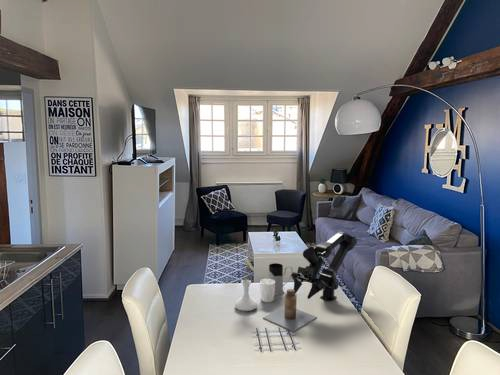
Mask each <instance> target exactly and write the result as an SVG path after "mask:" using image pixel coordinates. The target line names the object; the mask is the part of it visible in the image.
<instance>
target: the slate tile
mask: <svg viewBox="0 0 500 375" xmlns="http://www.w3.org/2000/svg"><path fill="white" fill-rule="evenodd" d="M284 316H285V305H283V306H281V307H280V308H278V309H277V310H275V311H273V312H271V313H268V314H267V315H265V316H263V317H262V319H263V320H265V321H268V322H270V323H272V324H274V325H277V326H278V327H281V328H284V329H285V330H287V331H289V332H292V333H296V332H297V331H299V330H300V329H301V328H303V327H305V326H306V325H308V324H309V323H311V322H312V321H314V320H315V319H317V318H318V317H317V316H315V315H313V314H310V313H309V312H305V311H303V310H301V309H297V308H296V318H295V319H293V320H288V319H286V318H285V317H284Z"/></svg>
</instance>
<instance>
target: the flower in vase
mask: <svg viewBox="0 0 500 375" xmlns="http://www.w3.org/2000/svg"><path fill="white" fill-rule="evenodd" d="M244 261H245V263H246V264H247V265H246V268H245V270H244V272H243V274H244V279H242V280H241V284H242V286H243V295H242V296H241V297H239V299H237V300H236V301H235V302H234V307H235V308H236V309H237V310H239V311H243V312H248V311H249V312H250V311H253V310H256V308H257V307H258V302H257V301H256V300H255V299H254V298H253V297H251V296H250V294H249V290H250V288H249V287H250V285H251V283H252V281H251V279H250V280H249V279H248V278H249V277H250V276H247V275H246V272H247V270H248V269H247V268H248V267H249V268H250V269H251V271H253V272H254V271H255V268H254V267H253V264H252V262H250V260H249V259H248V258H247V257H244Z"/></svg>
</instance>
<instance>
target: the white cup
mask: <svg viewBox="0 0 500 375" xmlns="http://www.w3.org/2000/svg"><path fill="white" fill-rule="evenodd" d="M259 284H260V300H261V301H262V302H264V303H272V302H274V301H275V295H274V294H275V280H273V279H269V278H262V279H260V282H259Z"/></svg>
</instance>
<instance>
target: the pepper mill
mask: <svg viewBox="0 0 500 375" xmlns="http://www.w3.org/2000/svg"><path fill="white" fill-rule="evenodd" d="M297 296H298V295H297V293H295V290H294V288H293V289H291V288H289V289H286V293H285V294H284V306H285V316H284V317H285V318H286V319H288V320H293V319H295V318H296V309H297Z"/></svg>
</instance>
